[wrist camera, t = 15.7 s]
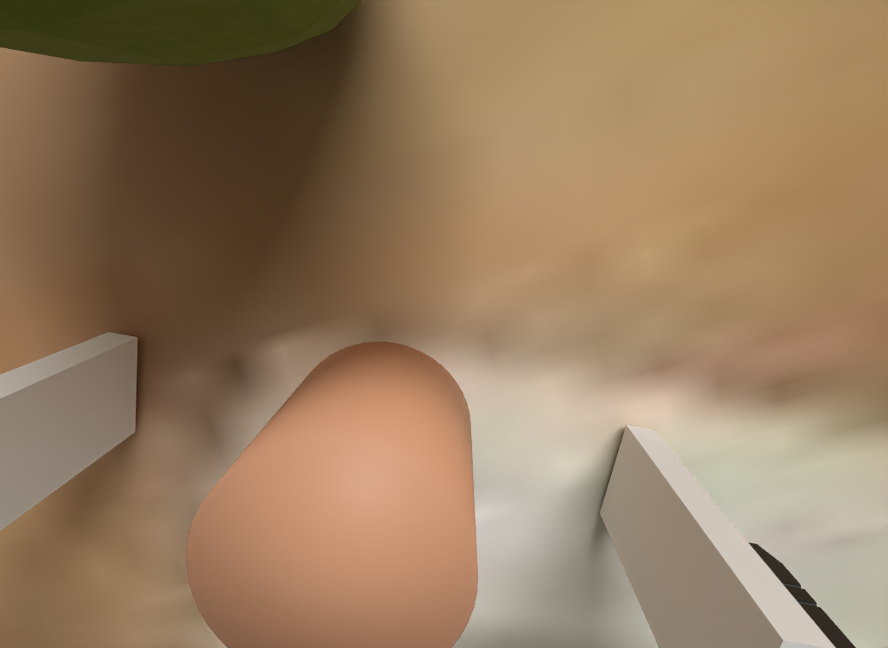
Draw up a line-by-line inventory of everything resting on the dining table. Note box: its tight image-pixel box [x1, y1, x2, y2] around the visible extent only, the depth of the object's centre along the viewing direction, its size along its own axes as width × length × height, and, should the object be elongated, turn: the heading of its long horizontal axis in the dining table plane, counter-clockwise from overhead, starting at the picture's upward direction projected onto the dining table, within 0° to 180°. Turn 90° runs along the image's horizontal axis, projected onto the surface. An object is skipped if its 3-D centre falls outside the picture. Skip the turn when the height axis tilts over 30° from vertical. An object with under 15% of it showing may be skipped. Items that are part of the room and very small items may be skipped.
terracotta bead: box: [186, 342, 478, 648], centre depth 11 cm, size 5×5×6 cm
